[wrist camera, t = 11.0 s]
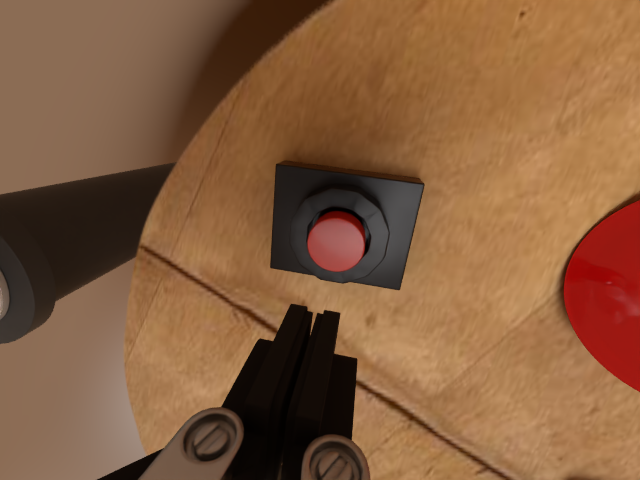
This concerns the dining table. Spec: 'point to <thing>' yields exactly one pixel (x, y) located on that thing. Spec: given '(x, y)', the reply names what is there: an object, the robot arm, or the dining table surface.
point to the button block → (355, 198)
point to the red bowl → (609, 293)
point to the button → (337, 241)
